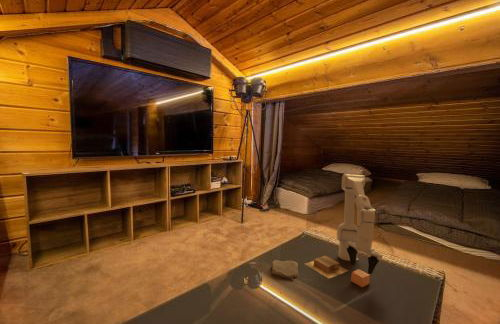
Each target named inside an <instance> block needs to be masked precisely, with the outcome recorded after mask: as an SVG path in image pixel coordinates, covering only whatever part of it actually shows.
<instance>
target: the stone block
mask: <svg viewBox="0 0 500 324" xmlns="http://www.w3.org/2000/svg"><path fill="white" fill-rule="evenodd" d="M298 268H299V264H298V262H296V261H294V260H284V261H282V260H278V259H274V260H273V261H272V263H271V269H272V275H274V276H276V277H280V278H285V279H290V280H296V278H298V277H299V269H298Z"/></svg>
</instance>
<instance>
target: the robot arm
mask: <svg viewBox="0 0 500 324" xmlns="http://www.w3.org/2000/svg"><path fill="white" fill-rule="evenodd" d="M365 185H366V177H365V175H364V174H349V173H343V174H342V177H341V189H342V190H343V191H344V207H343V210H344V211H343V222H341V223H340V224H338V226H337V230H336V239H337V241H338V242H339V244H338V255H337V256H338V258H339V259H341V260H343V261H348V262H350V266H355V265H356V263H357V261H359V258H358V252H359V253H362V254H366V255H368V256H370V257H367V262H368V269H367V270H368V271H367V274H369V275H372V274H373V273H374V270H375V268H376V266H377V265H378V263H379V262H380V261H381V260H382V259H383V254H382V253H380V252H378V251H377V250H375V249H373V248H372V247H373V246H372V245H373V236H374V227H375V226H374V225H376V224H377V221H378V212H377V210H376V209H374V207H373V206H372V205H371V201H370V198H369V197H368V196H367V195H365V194H366V193H365V190H364V187H365ZM355 207H356V210H357V212H356V218H357V219H356V224H357V226H356V225H355V224H354V223H355Z"/></svg>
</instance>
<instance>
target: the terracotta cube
mask: <svg viewBox="0 0 500 324" xmlns="http://www.w3.org/2000/svg"><path fill="white" fill-rule="evenodd" d="M370 277H371V274H368V272H365V271H363V270H361V269H360V268H358V269H355V270H354V271H352V272H351V277H350V278H351V279H350V282H352V283H354V284H356V285H358V286H359V287H361V288H363V287H365V286H368V285H369V284H370Z"/></svg>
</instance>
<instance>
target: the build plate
mask: <svg viewBox="0 0 500 324" xmlns="http://www.w3.org/2000/svg"><path fill="white" fill-rule="evenodd" d="M304 265H305V266H307V267H308V268H311V269H312V270H313V271H316V273H318V274H319V275H322V276H324V278H327V279H329V280H330V279H332V278H334V277H337V276H339V275H342V274H344V273H346V272H347V273H348V272H349V269H346V268H344V267H343V266H341V265H339V269H338V270H336V271H333V272H330V273H328V274H327V273H326V272H324V271H322V270H321V269H319V268H317V267H316V266H314V260H313V261H309V262H305V263H304Z"/></svg>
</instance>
